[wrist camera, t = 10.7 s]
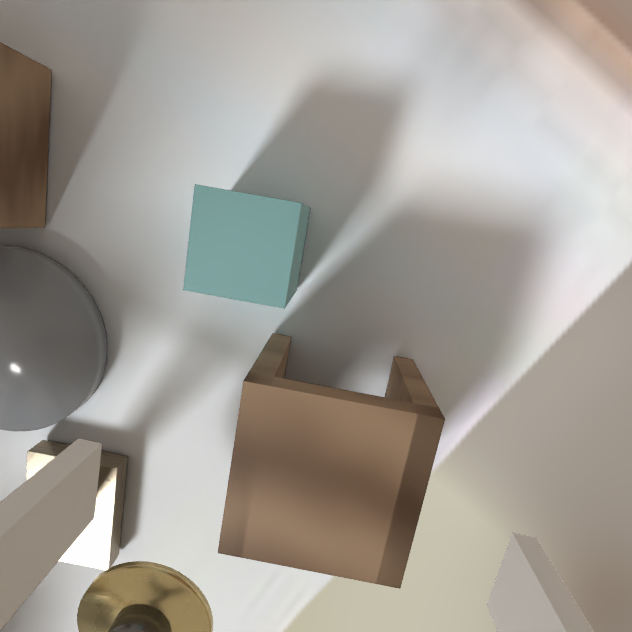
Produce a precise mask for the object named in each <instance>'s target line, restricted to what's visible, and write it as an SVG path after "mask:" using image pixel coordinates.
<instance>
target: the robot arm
mask: <svg viewBox="0 0 632 632" xmlns="http://www.w3.org/2000/svg"><path fill="white" fill-rule="evenodd" d="M101 448H102V443H98V442H93V441H89V440H84V439H79V438H78V439H77V440H76V441H74V442H73V443H72V444H71V445H70V446H68V447H67V448H66V449H65V450H64V451H62V452H61V453H60V454H59V455H57V456H56V457H55V458H54V459H53V460H51V461H50V462H49V463H48V464H46V465H45V466H44V467H43V468H42V469H40V470H39V471H38V472H37V473H35V474H34V475H33V476H32V477H31V478H29V479H28V480H27V481H26V482H24V483H23V484H22V485H21V486H20V487H18V488H17V489H16V490H15V491H13V492H12V493H11V494H10V495H9V496H7V497H6V498H5V499H4V500H3V501H1V502H0V630H1V629H2V628H3V627H4V625H5V624H6V623H7V622H8V621H9V619H10V618H11V617H12V616H13V615H14V613H15V612H16V611H17V610H18V609H19V607H20V606H21V605H22V604H23V603H24V602H25V600H26V599H27V598H28V597H29V596H30V594H31V593H32V592H33V591H34V590H35V588H36V587H37V586H38V585H39V584H40V582H41V581H42V580H43V579H44V578H45V576H46V575H47V574H48V573H49V572H50V570H51V569H52V568H53V567H54V566H55V565H56V563H57V562H58V561H59V560H60V559H61V557H62V556H63V555H64V554H65V553H66V551H67V550H68V549H69V548H70V547H71V545H72V544H73V543H74V542H75V541H76V539H77V538H78V537H79V536H80V535H81V533H82V532H83V531H84V530H85V529H86V528H87V526H88V525H89V524H90V523H91V522H92V520H93V519H94V518H95V508H96V498H97V488H98V478H99V468H100V458H101ZM487 606H488V608H489V611H490V614H491V616H492V619H493V622H494V625H495V627H496V630H497V632H594V631H593V629H592V628H591V626H590V624H589V623H588V621H587V620H586V618H585V616H584V615H583V613H582V611H581V610H580V608H579V606H578V605H577V603H576V602H575V600H574V598H573V597H572V595H571V593H570V592H569V590H568V588H567V587H566V585H565V584H564V582H563V581H562V579H561V578H560V576H559V574H558V572H557V571H556V569H555V567H554V566H553V564H552V562H551V561H550V559H549V557H548V556H547V554H546V553H545V551H544V549H543V548H542V546H541V544H540V543H539V541H538V540H537V538H535V537H530V536H526V535H521V534H516V533H512V534H511V537H510V541H509V543H508V546H507V549H506V551H505V554H504V557H503V560H502V563H501V566H500V568H499V571H498V574H497V577H496V580H495V583H494V585H493V588H492V591H491V594H490V597H489V600H488V603H487Z"/></svg>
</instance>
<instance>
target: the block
mask: <svg viewBox="0 0 632 632" xmlns="http://www.w3.org/2000/svg"><path fill="white" fill-rule="evenodd" d="M309 213H310V208H309V207H308V206H306V205H304V204H302V203H298V202H292V201H287V200H281V199H275V198H270V197H264V196H258V195H253V194H247V193H241V192H236V191H230V190H225V189H219V188H213V187H208V186H202V185H196V184H195V187H194V196H193V206H192V215H191V224H190V233H189V243H188V252H187V261H186V270H185V279H184V289H183V290H186V291H191V292H197V293H202V294H208V295H213V296H219V297H224V298H230V299H235V300H241V301H246V302H252V303H257V304H263V305H268V306H274V307H279V308H285V307H286V306H287V304H288V303H289V301H290V300H291V298H292V297H293V295H294V293H295V292H296V290H297V286H298V280H299V274H300V268H301V262H302V255H303V249H304V243H305V237H306V231H307V225H308V219H309Z"/></svg>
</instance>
